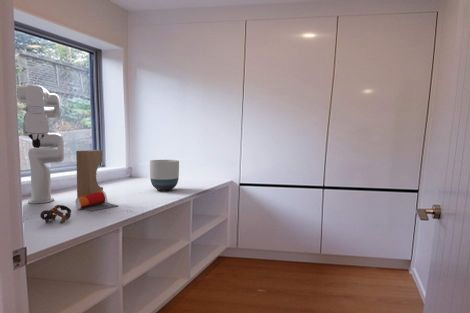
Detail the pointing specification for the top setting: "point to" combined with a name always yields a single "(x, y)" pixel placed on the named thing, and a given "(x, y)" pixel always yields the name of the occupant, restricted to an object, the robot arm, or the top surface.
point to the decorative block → (87, 171)
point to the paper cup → (91, 199)
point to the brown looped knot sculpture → (56, 213)
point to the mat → (100, 206)
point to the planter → (164, 174)
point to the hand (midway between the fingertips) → (36, 147)
